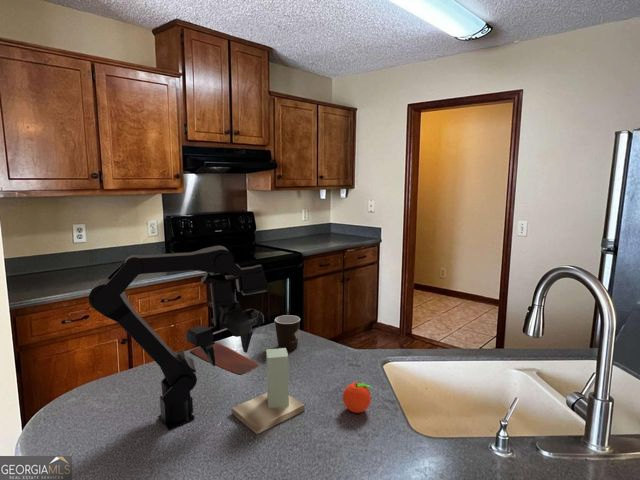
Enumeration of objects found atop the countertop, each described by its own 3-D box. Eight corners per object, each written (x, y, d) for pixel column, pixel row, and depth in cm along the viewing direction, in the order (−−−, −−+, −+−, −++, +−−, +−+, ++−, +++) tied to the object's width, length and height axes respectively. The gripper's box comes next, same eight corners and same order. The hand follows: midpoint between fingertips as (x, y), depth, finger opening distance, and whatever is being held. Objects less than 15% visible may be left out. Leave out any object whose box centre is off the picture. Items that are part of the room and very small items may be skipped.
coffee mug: (285, 355, 132) (285, 325, 131) (270, 347, 139) (269, 319, 137) (312, 345, 140) (312, 317, 139) (296, 338, 147) (296, 311, 145)
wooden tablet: (188, 353, 135) (188, 348, 135) (214, 344, 143) (214, 339, 143) (237, 379, 118) (236, 373, 118) (263, 367, 125) (263, 362, 125)
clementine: (370, 401, 105) (370, 375, 104) (378, 416, 98) (378, 389, 97) (340, 404, 104) (340, 378, 103) (346, 419, 97) (346, 392, 96)
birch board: (257, 434, 91) (257, 428, 91) (232, 413, 99) (231, 407, 99) (304, 410, 101) (304, 404, 100) (278, 393, 109) (277, 388, 109)
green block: (268, 408, 99) (267, 358, 97) (267, 397, 104) (266, 349, 102) (288, 406, 100) (288, 356, 98) (286, 395, 105) (285, 347, 103)
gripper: (206, 316, 86) (213, 384, 88) (275, 294, 98) (279, 354, 101) (181, 306, 93) (189, 369, 96) (248, 287, 106) (253, 343, 109)
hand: (229, 358), depth 100 cm, fingers open, 9 cm apart
